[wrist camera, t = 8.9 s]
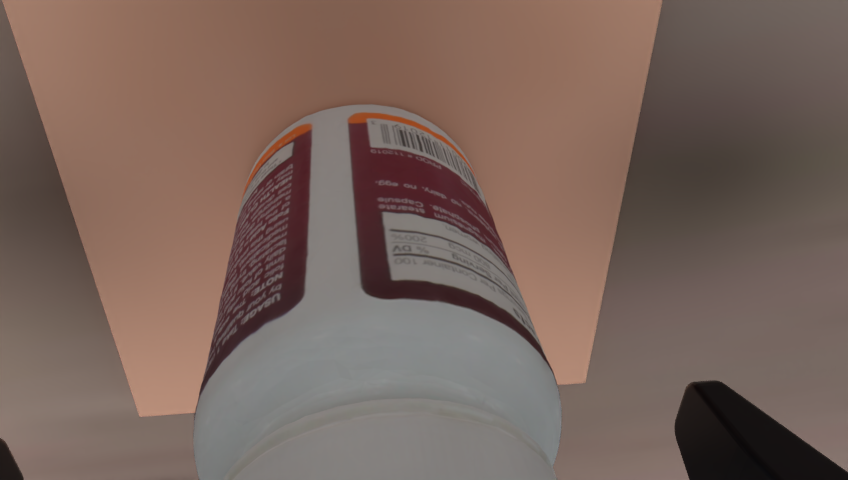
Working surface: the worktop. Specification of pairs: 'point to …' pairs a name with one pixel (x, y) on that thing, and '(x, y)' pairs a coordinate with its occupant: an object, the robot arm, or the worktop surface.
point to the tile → (312, 92)
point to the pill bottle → (372, 318)
